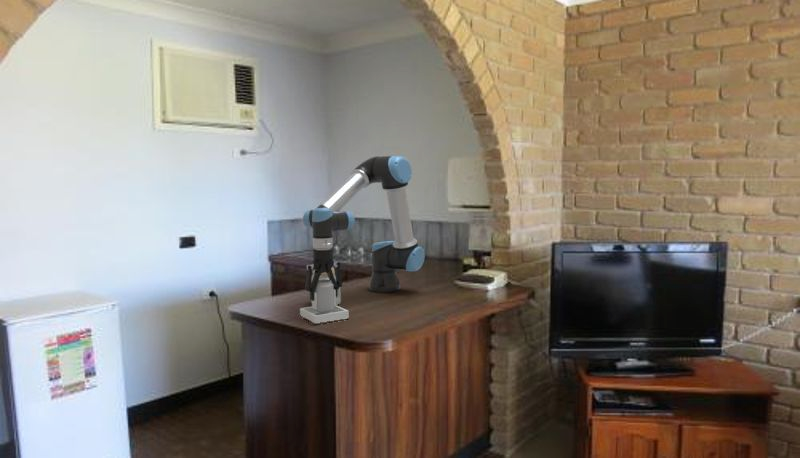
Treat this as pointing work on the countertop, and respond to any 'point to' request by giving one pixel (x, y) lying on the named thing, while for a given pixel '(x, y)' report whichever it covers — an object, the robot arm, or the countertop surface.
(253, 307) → the countertop surface
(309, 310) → the tray
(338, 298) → the jar
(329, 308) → the can
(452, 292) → the countertop surface
